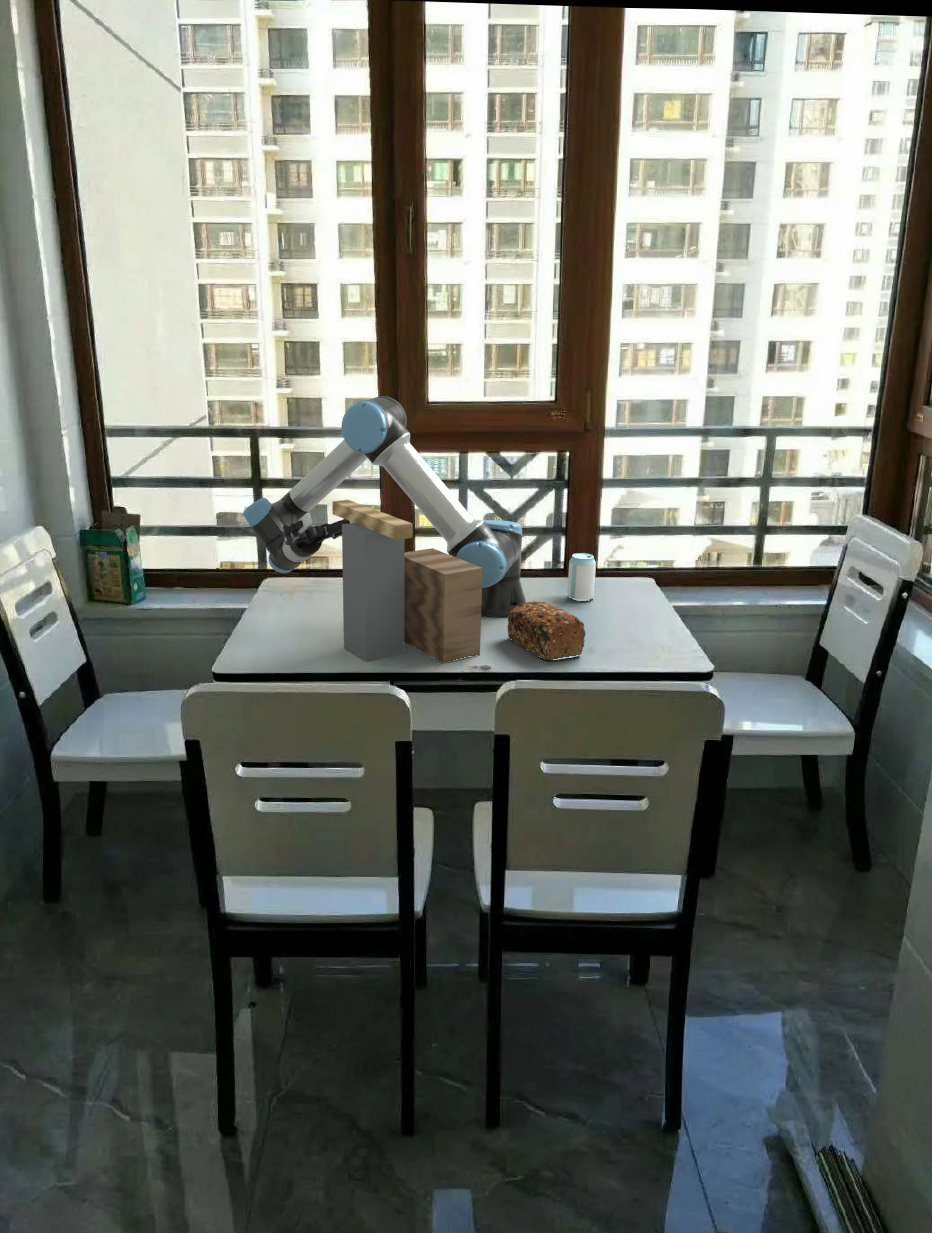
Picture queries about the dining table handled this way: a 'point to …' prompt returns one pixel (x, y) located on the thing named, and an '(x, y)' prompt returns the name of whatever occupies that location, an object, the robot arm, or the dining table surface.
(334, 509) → the oak bar
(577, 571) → the can
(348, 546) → the stand
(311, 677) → the dining table surface
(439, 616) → the wood grain brick
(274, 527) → the robot arm
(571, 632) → the bread
